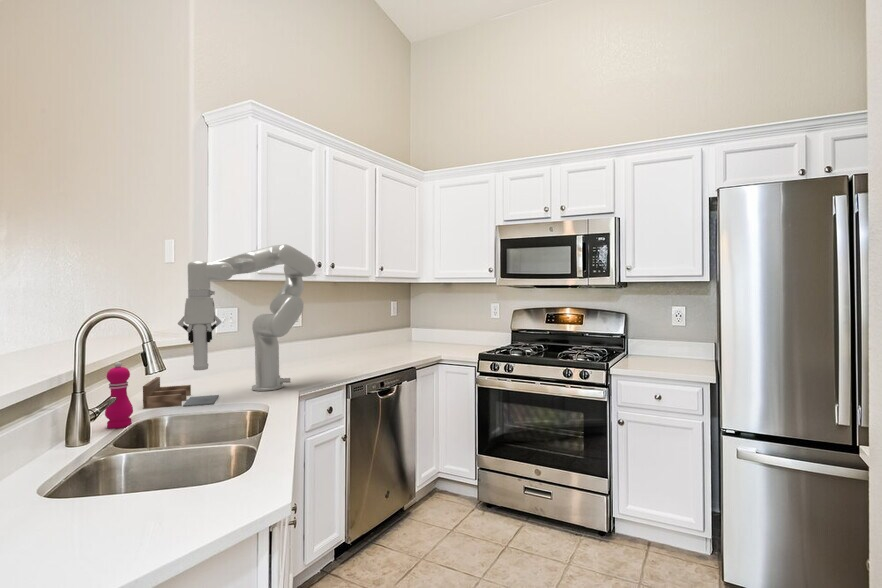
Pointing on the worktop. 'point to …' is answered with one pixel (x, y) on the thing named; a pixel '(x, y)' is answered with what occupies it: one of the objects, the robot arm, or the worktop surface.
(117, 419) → the pepper mill
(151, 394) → the lane rack
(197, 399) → the rubber mat
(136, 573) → the worktop surface
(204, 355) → the bottle
